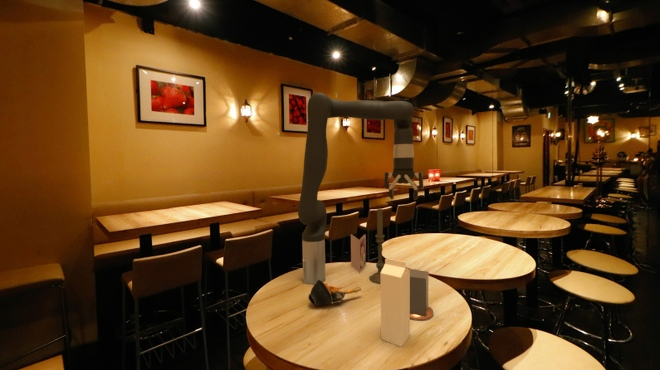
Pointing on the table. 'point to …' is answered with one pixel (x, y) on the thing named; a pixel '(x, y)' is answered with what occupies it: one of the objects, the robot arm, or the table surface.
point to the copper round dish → (422, 318)
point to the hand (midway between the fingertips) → (403, 199)
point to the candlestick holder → (379, 248)
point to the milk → (395, 302)
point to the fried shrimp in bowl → (328, 294)
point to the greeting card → (358, 253)
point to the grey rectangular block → (419, 292)
